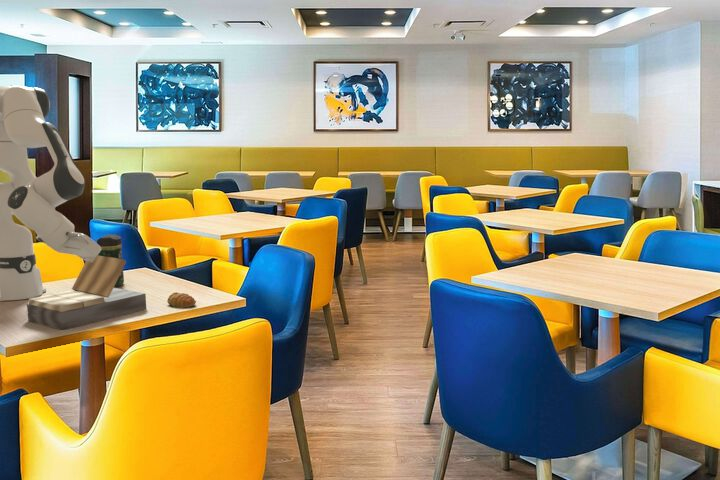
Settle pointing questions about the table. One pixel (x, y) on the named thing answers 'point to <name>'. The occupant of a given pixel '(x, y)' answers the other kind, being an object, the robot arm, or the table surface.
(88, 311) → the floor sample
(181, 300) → the pastry
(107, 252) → the coffee jar
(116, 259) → the plank
